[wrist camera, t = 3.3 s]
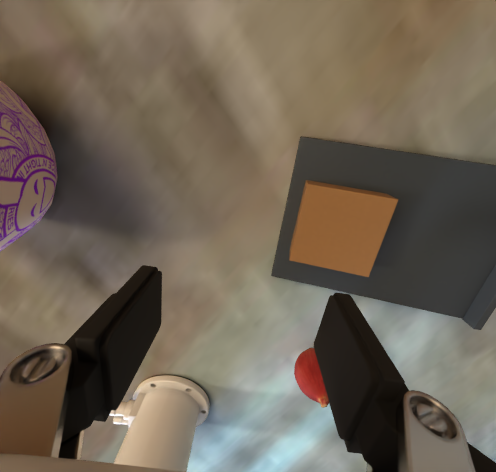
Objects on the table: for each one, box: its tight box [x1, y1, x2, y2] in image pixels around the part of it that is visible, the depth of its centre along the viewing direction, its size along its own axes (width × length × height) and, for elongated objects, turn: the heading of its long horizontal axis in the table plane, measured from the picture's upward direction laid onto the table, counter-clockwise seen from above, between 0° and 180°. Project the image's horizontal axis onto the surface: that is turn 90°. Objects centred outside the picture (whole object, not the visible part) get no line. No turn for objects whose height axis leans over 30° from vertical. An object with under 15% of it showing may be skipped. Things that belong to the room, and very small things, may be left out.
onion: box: [294, 348, 329, 407], centre depth 30 cm, size 6×6×8 cm
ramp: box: [272, 137, 496, 330], centre depth 24 cm, size 22×16×6 cm
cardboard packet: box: [289, 180, 398, 277], centre depth 24 cm, size 8×8×4 cm
